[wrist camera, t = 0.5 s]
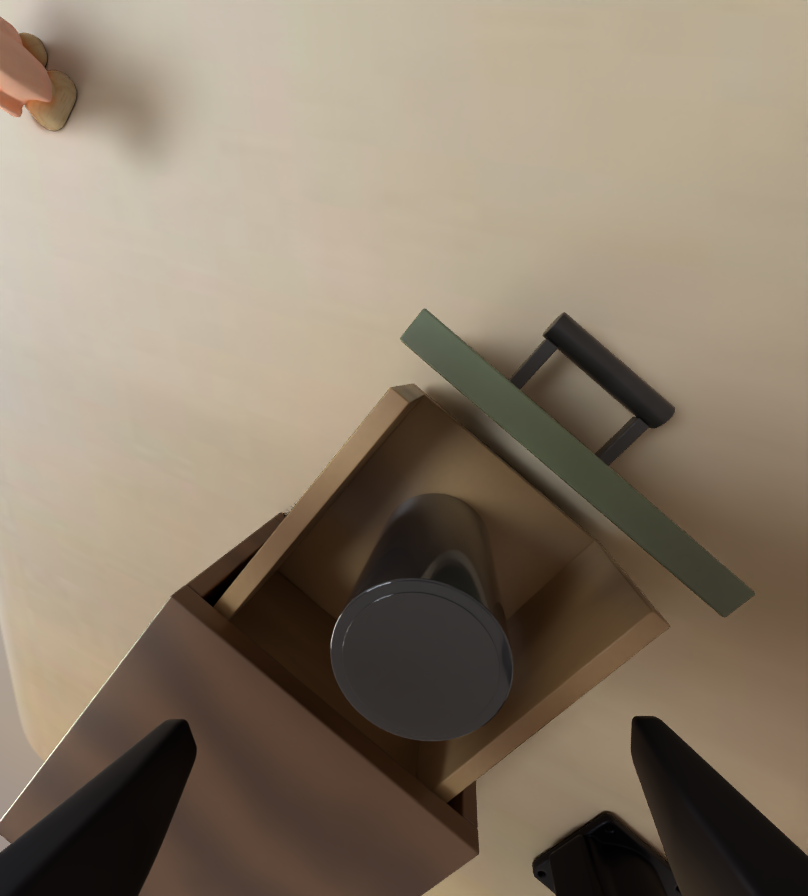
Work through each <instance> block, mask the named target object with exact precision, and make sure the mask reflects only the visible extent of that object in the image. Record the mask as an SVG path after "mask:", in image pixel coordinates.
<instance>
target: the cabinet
mask: <svg viewBox="0 0 808 896" xmlns="http://www.w3.org/2000/svg"><path fill="white" fill-rule="evenodd" d="M284 519H285V516H284V515H283V514H282V513H279V514H278V515H276V516H275V517H274V518H272V519H271V520H270V521H268V522H267V523H266V524H265V525H263V526H262V527H261V528H259V529H258V530H257V531H255V532H254V533H253V534H251V535H250V536H249V537H248V538H246V539H245V540H244V541H242V542H241V543H240V544H238V545H237V546H236V547H234V548H233V549H232V550H231V551H229V552H228V553H227V554H225V555H224V556H223V557H221V558H220V559H219V560H217V561H216V562H215V563H214V564H212V565H211V566H210V567H208V568H207V569H206V570H204V571H203V572H202V573H200V574H199V575H198V576H196V577H195V578H194V579H193V580H191V581H190V582H189V583H187V584H186V585H185V586H183V587H182V588H181V589H179V590H178V591H177V592H175V593H174V594H173V595H171V596H170V598H169V599H168V600H167V602H166V603H165V604H164V606H163V607H162V608H161V610H160V611H159V612H158V614H157V615H156V616H155V617H154V619H153V620H152V621H151V623H150V624H149V625H148V627H147V628H146V629H145V631H144V632H143V633H142V635H141V636H140V637H139V639H138V640H137V641H136V643H135V644H134V645H133V646H132V648H131V649H130V650H129V652H128V653H127V654H126V656H125V657H124V658H123V660H122V661H121V662H120V664H119V665H118V666H117V668H116V669H115V670H114V671H113V673H112V674H111V675H110V677H109V678H108V679H107V681H106V682H105V683H104V685H103V686H102V687H101V689H100V690H99V691H98V693H97V694H96V695H95V697H94V698H93V699H92V700H91V702H90V703H89V704H88V706H87V707H86V708H85V710H84V711H83V712H82V714H81V715H80V716H79V718H78V719H77V720H76V722H75V723H74V724H73V725H72V727H71V728H70V729H69V731H68V732H67V733H66V735H65V736H64V737H63V739H62V740H61V741H60V743H59V744H58V745H57V747H56V748H55V749H54V751H53V752H52V753H51V754H50V756H49V757H48V758H47V760H46V761H45V762H44V764H43V765H42V766H41V768H40V769H39V770H38V772H37V773H36V775H35V776H34V777H33V778H32V779H31V781H30V782H29V784H28V785H27V786H26V787H25V789H24V790H23V791H22V793H21V794H20V795H19V797H18V798H17V799H16V801H15V802H14V803H13V805H12V806H11V807H10V808H9V810H8V811H7V812H6V814H5V815H4V817H3V818H2V819H1V820H0V835H1V836H3V837H4V838H5V839H6V840H7V841H9V842H10V843H13V842H14V841H15V840H16V839H18V838H19V837H20V836H21V835H23V834H24V833H25V832H26V831H28V830H29V829H30V828H31V827H33V826H34V825H35V824H36V823H38V822H39V821H40V820H41V819H43V818H44V817H45V816H46V815H48V814H49V813H50V812H51V811H53V810H54V809H55V808H56V807H58V806H59V805H60V804H61V803H63V802H64V801H65V800H66V799H68V798H69V797H70V796H71V795H73V794H74V793H75V792H76V791H78V790H79V789H80V788H81V787H83V786H84V785H85V784H86V783H88V782H89V781H90V780H91V779H93V778H94V777H95V776H96V775H98V774H99V773H100V772H101V771H103V770H104V769H105V768H106V767H108V766H109V765H110V764H111V763H113V762H114V761H115V760H116V759H118V758H119V757H120V756H121V755H123V754H124V753H125V752H126V751H127V750H129V749H130V748H131V747H132V746H134V745H135V744H136V743H137V742H139V741H140V740H141V739H142V738H144V737H145V736H146V735H147V734H149V733H150V732H151V731H152V730H154V729H155V728H156V727H157V726H159V725H160V724H161V723H163V722H164V721H166V720H169V719H185V720H186V721H187V722H188V723H189V726H190V729H191V732H192V734H193V737H194V740H195V743H196V746H197V755H196V759H195V762H194V765H193V767H192V770H191V772H190V775H189V777H188V780H187V783H186V785H185V788H184V790H183V793H182V795H181V798H180V800H179V803H178V805H177V808H176V810H175V813H174V815H173V818H172V820H171V823H170V826H169V828H168V831H167V833H166V836H165V838H164V841H163V843H162V845H161V848H160V850H159V852H158V855H157V857H156V859H155V861H154V864H153V866H152V868H151V870H150V872H149V875H148V877H147V879H146V881H145V883H144V885H143V887H142V889H141V891H140V893H139V895H138V896H421V895H423V894H424V893H426V892H427V891H428V890H430V889H431V888H433V887H434V886H435V885H437V884H438V883H439V882H441V881H442V880H444V879H445V878H446V877H448V876H449V875H451V874H452V873H453V872H455V871H456V870H458V869H459V868H460V867H462V866H463V865H464V864H466V863H467V862H469V861H470V860H471V859H473V858H474V857H476V856H477V855H478V854H479V842H478V829H477V827H478V823H477V800H476V780H475V781H474V782H473V783H471V784H470V785H469V786H468V787H466V788H465V789H464V790H463V791H461V792H460V793H459V794H457V795H456V796H455V797H454V798H452V799H451V800H450V801H449V802H447V803H446V802H445V801H443V800H442V799H441V798H440V797H439V796H437V795H436V794H435V793H434V792H433V791H431V790H430V789H429V788H428V787H427V786H425V785H424V784H423V783H422V782H421V781H419V780H418V779H417V778H416V777H415V776H414V775H412V774H411V773H410V772H409V771H408V770H406V769H405V768H404V767H403V766H402V765H400V764H399V763H398V762H397V761H396V760H394V759H393V758H392V757H391V756H390V755H388V754H387V753H386V752H385V751H384V750H383V749H381V748H380V747H379V746H378V745H377V744H375V743H374V742H373V741H372V740H371V739H369V738H368V737H367V736H366V735H365V734H363V733H362V732H361V731H360V730H359V729H357V728H356V727H355V726H354V725H353V724H352V723H350V722H349V721H348V720H347V719H346V718H344V717H343V716H342V715H341V714H340V713H338V712H337V711H336V710H335V709H334V708H332V707H331V706H330V705H329V704H328V703H326V702H325V701H324V700H323V699H322V698H321V697H319V696H318V695H317V694H316V693H315V692H313V691H312V690H311V689H310V688H309V687H307V686H306V685H305V684H304V683H303V682H301V681H300V680H299V679H298V678H297V677H295V676H294V675H293V674H292V673H291V672H290V671H288V670H287V669H286V668H285V667H284V666H282V665H281V664H280V663H279V662H278V661H276V660H275V659H274V658H273V657H272V656H270V655H269V654H268V653H267V652H266V651H264V650H263V649H262V648H261V647H260V646H259V645H257V644H256V643H255V642H254V641H253V640H251V639H250V638H249V637H248V636H247V635H245V634H244V633H243V632H242V631H241V630H239V629H238V628H237V627H236V626H235V625H233V624H232V623H231V622H230V621H229V620H228V619H226V618H225V617H224V616H223V615H222V614H220V613H219V612H218V611H217V610H216V609H214V608H213V606H214V605H215V604H216V603H217V601H218V600H219V599H220V598H221V597H222V595H223V594H224V593H225V592H226V590H227V589H228V588H229V587H230V585H231V584H232V583H233V582H234V580H235V579H236V578H237V577H238V575H239V574H240V573H241V572H242V571H243V569H244V568H245V567H246V566H247V564H248V563H249V562H250V561H251V559H252V558H253V557H254V556H255V554H256V553H257V552H258V551H259V549H260V548H261V547H262V546H263V545H264V543H265V542H266V541H267V540H268V538H269V537H270V536H271V535H272V533H273V532H274V531H275V530H276V528H277V527H278V526H279V525H280V523H281V522H282V521H283V520H284Z"/></svg>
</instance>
